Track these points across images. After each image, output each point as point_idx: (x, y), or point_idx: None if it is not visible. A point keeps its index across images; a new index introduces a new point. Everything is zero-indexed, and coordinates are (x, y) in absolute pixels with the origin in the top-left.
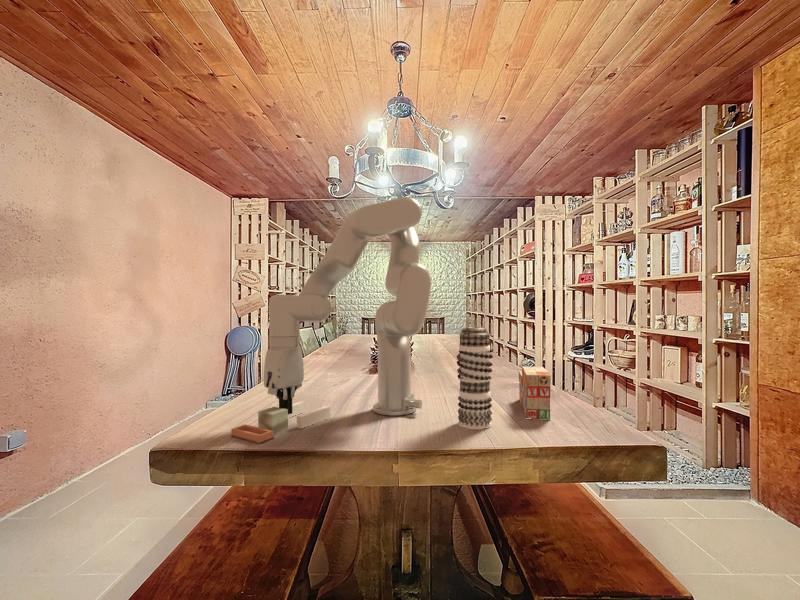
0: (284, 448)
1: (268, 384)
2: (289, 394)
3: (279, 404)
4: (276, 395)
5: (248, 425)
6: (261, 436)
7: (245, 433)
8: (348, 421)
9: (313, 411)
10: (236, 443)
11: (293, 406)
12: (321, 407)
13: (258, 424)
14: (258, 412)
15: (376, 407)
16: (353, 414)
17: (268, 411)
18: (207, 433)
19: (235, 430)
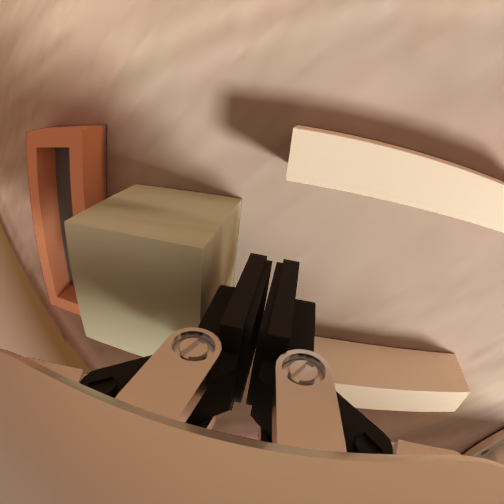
0: (96, 366)
1: (1, 375)
2: (263, 427)
3: (206, 315)
4: (127, 373)
5: (79, 160)
6: (57, 304)
7: (36, 226)
8: (397, 431)
9: (363, 398)
10: (30, 209)
11: (476, 222)
12: (442, 392)
13: (115, 195)
14: (68, 222)
15: (496, 445)
16: (477, 408)
17: (98, 289)
18: (46, 10)
19: (29, 160)
